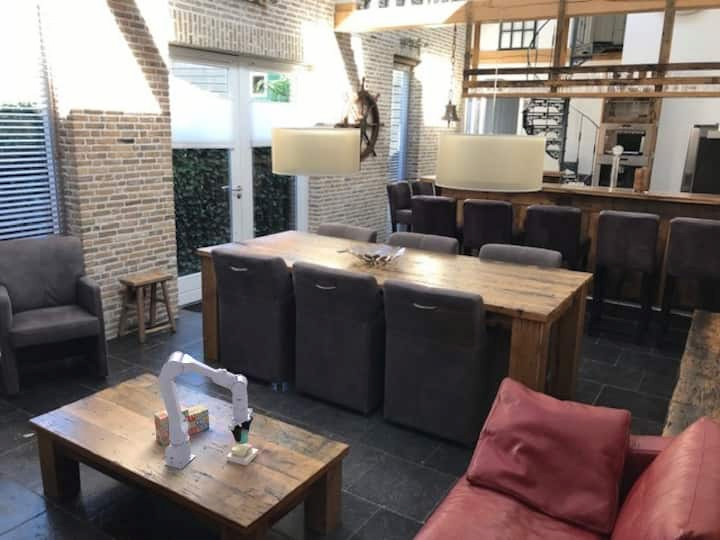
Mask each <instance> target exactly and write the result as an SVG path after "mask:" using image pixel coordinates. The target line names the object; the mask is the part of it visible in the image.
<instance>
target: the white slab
mask: <svg viewBox="0 0 720 540" xmlns="http://www.w3.org/2000/svg"><path fill="white" fill-rule="evenodd" d="M257 455H259V449H258V448H254V447H253V451H252V452H251V453H250V454H249V455H247V456H246V457H245V458H240V457H237V456H233V455H231V452H229V453H228V454H227V455H226V461H228V462H231V463H235V464H239V465H243V466H248V465H249V463H251V462H252V461H253V459H255V458H256V457H257Z"/></svg>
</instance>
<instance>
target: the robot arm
mask: <svg viewBox="0 0 720 540" xmlns="http://www.w3.org/2000/svg"><path fill="white" fill-rule="evenodd" d="M191 372H194V373H196V374H199V375H202V376H204V377H208V378H210V379H211V380H212V382H213V384H217V385H219V386H221V387H223V388H225V389H229V390H230V391H231V393H232V396H231V398H232V415H233V416H232V418H231V420H230V423H228V425H227V426H228V430H230V432H231V433H232V434H231V435H232V436H233V438H234V441H237V442H240V441H241V433H242V429H247V430H248V434H249V432H250V428H251V425H252V422H253V420H254V416H252V415H253V414H254V411H253V410H254V409H253V408H252V407H251V408H250V407H249V405H248V404H249V403H248V391H247V389H248V387H247V386H248V379H247V377H246V376H245V375H243V374H234V373H232V372H230V371H227V368H226V369H225V368H223V369H222V368H218V369H215V368H212V367H211V366H209V365H207V364H204V363H203V362H201V361H198V360H197V359H195V358H193V357H192V356H190V355H189V354H186V353H185V354H184V353H183V352H182V351H174V352H172V353H171V354H170V355H169V356H168V357H167V358H166V360H165V362H164V364H163V366H162V368H161V371H160V373H159V375H158V379H157V382H158V385H159V388H160V392H161V395H162V399H163V403H164V407H165V410H167V414H168V417H169V430H170V435H169V440H170V443H168V444H169V445H168V446H167V447H166V448H165V450H164V451H165V452H164V453H165V454H164V455H165V462H164V466H169V467H172V468H176V469H180V470H181V469H183V468H184V467H186V465H188V464H189V463H191V461H193V460H194V459H195V458H196V454H191V441H190V435H188V433H187V432H188V430H189V427H190V425H189V422H188V421H187V420H186V419H185V416H184V415H183V414H182V411H181V408H180V405H181V404H180V401H179V397H178V394H177V390H176V386H175V382H174V379H175V378H176V377H178V376H180V375H181V373H182V374H183V375H185V374H188V373H191Z"/></svg>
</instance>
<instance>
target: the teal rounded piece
mask: <svg viewBox="0 0 720 540" xmlns="http://www.w3.org/2000/svg"><path fill="white" fill-rule="evenodd" d="M234 441H235V440H234ZM248 442H249V433H248V430H247V429H242V433H241V441H240V442H237V441H235V443H236V445H237V444H245V443H246V444H248Z"/></svg>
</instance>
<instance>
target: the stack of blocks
mask: <svg viewBox="0 0 720 540" xmlns="http://www.w3.org/2000/svg"><path fill="white" fill-rule="evenodd" d="M180 408H181V411H182V414H183V415H184V416H185V419H186V420H187V421H188V422H189V425H190V427H189V430H188V432H187V433H188V435H189V436H191V435H194V434H195V435H196V434H197V433H199V432H202V431H203V432H204V431H206V430H208V429H210V416H209V409H208V408H207V407H206V406H204V405H203V404H198V405H195V406H192V407H191V406H190V407H189V408H187V407H185V406H184V405H183V404H180ZM153 417H154V427H155V436H156V441H158V442H159V444H161V445H162V446H163V445H167V444H170V440H169V435H170V430H169V417H168V414H167V410H166V409H164V410H161V411H158V412H155V413H154V414H153Z"/></svg>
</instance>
